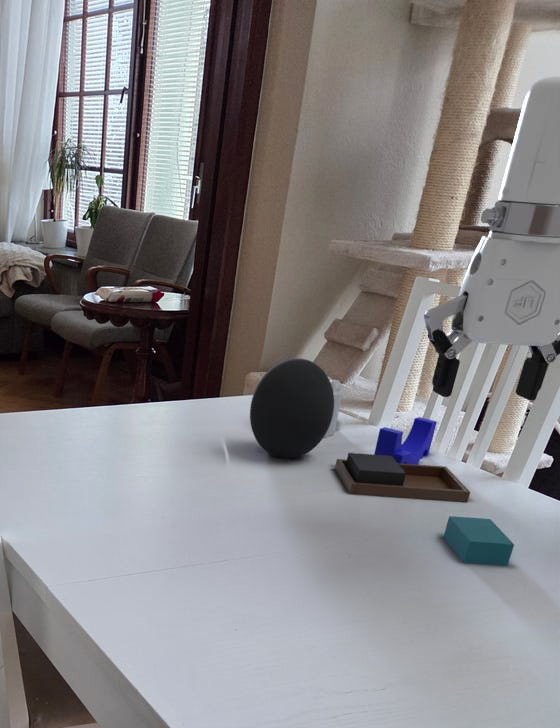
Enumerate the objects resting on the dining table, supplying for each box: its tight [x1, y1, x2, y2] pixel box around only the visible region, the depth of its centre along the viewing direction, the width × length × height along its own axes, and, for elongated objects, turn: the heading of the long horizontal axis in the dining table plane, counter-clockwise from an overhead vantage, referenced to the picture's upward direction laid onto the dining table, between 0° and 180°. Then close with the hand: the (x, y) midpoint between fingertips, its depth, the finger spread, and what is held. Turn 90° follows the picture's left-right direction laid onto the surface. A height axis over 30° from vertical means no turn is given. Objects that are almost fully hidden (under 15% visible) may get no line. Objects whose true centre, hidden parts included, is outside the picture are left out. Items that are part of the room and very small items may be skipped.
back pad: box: [346, 452, 406, 486], centre depth 123 cm, size 6×8×3 cm
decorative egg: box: [249, 357, 334, 460], centre depth 130 cm, size 12×12×15 cm
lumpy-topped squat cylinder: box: [323, 375, 344, 439], centre depth 147 cm, size 10×13×9 cm
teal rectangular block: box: [443, 515, 515, 567], centre depth 102 cm, size 5×8×4 cm, turn 176°
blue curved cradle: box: [373, 416, 438, 465], centre depth 132 cm, size 12×4×6 cm, turn 133°
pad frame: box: [334, 458, 471, 503], centre depth 123 cm, size 16×11×2 cm
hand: (483, 395), depth 94 cm, fingers open, 9 cm apart
